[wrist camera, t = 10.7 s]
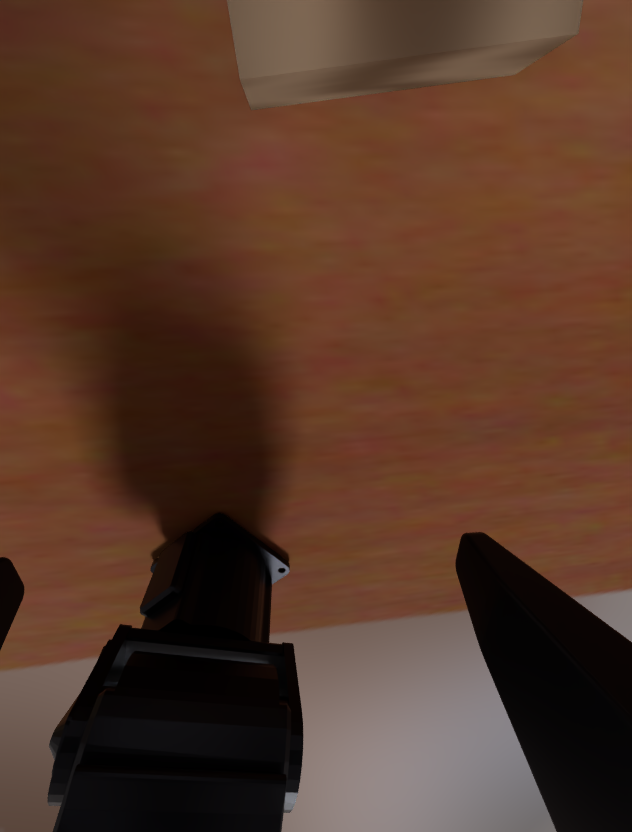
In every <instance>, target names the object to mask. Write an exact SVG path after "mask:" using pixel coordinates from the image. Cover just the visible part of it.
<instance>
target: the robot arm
mask: <svg viewBox="0 0 632 832" xmlns="http://www.w3.org/2000/svg"><path fill="white" fill-rule="evenodd" d="M217 521H221V522H222V523H218V522H217ZM289 571H290V565H289V563H288V562H287V561H286V560H285V559H283V558H282V557H281V556H279V555H278V554H277V553H275V552H274V551H273V550H271V549H270V548H269V547H267V546H266V545H265V544H263V543H262V542H261V541H259V540H258V539H257V538H255V537H254V536H253V535H251V534H250V533H249V532H247V531H246V530H245V529H243V528H242V527H241V526H239V525H238V524H237V523H235V522H234V521H233V520H231V519H230V518H229V517H227V516H226V515H224V514H221V513H218V514H215V515H213V516H212V517H210V518H209V519H208V520H207V521H205V522H204V523H203V524H201V525H200V526H199V527H198V528H196V529H195V530H194V531H189V532H187V533H185V534H184V535H183V536H181V537H180V538H179V539H178V540H176V541H175V542H174V543H172V544H171V545H170V546H169V547H167V548H166V549H165V550H163V551H162V552H161V554H160V557H159V558H157V559H156V560H155V561H154V562H153V563H152V566H151V572H152V573H153V575H152V578H151V580H150V583H149V585H148V588H147V591H146V593H145V596H144V598H143V601H142V604H141V606H140V613H141V614H142V615H144V616H145V620H144V622H143V625H142V628H141V629H139V628H132V626H131V625H122V624H120V625H119V627H118V629H117V631H116V633H115V635H114V637H113V639H112V640H109V641H108V642H107V644H106V646H104V647H103V649H102V652H101V654H100V656H99V658H98V661H97V663H96V665H95V667H94V669H93V671H92V672H91V674H90V676H89V678H88V680H87V681H86V684H85V685H84V687H83V689H82V691H81V693H80V694H79V696H78V697H77V699H76V700H75V701H74V703H73V704H72V706H71V707H70V709H69V710H68V711H67V713H66V714H65V716H64V717H63V718H62V720H61V721H60V723H59V724H58V726H57V727H56V729H55V730H54V733H53V735H52V738H51V740H50V744H49V748H50V750H51V752H52V755H53V758H54V760H55V761H54V765H53V770H52V778H51V782H50V787H49V792H48V804H49V806H61V807H60V810H59V813H58V817H57V820H56V823H55V826H54V829H53V832H281V829H282V821H283V813H290V812H291V811H292V810H293V807H294V805H295V802H296V798H297V794H298V789H299V783H300V776H301V767H302V756H303V718H302V708H301V701H300V693H299V686H298V677H297V670H296V663H295V654H294V646H293V644H292V643H284V642H283V643H282V644H275V643H269V633H270V613H271V593H272V584H273V583H275V582H276V581H278V580H279V579H281V578H282V577H284V576H285V575H287V574H288V573H289ZM456 572H457V575H458V579H459V582H460V585H461V588H462V592H463V595H464V598H465V601H466V605H467V608H468V611H469V614H470V618H471V621H472V624H473V627H474V631H475V634H476V637H477V640H478V643H479V646H480V649H481V652H482V654H483V656H484V659H485V662H486V664H487V667H488V669H489V671H490V674H491V676H492V678H493V681H494V683H495V686H496V688H497V690H498V693H499V695H500V698H501V700H502V702H503V705H504V707H505V709H506V712H507V714H508V717H509V719H510V721H511V724H512V726H513V728H514V731H515V733H516V736H517V738H518V741H519V743H520V745H521V748H522V750H523V752H524V755H525V757H526V759H527V762H528V764H529V767H530V769H531V771H532V774H533V776H534V779H535V781H536V783H537V786H538V788H539V791H540V793H541V795H542V798H543V800H544V802H545V805H546V807H547V810H548V812H549V814H550V817H551V819H552V822H553V824H554V826H555V829H556V831H557V832H632V642H631V641H629V640H628V639H626V638H625V637H624V636H623V635H621V634H620V633H619V632H617V631H616V630H614V629H613V628H612V627H610V626H609V625H608V624H606V623H605V622H604V621H602V620H601V619H600V618H598V617H597V616H595V615H594V614H593V613H592V612H590V611H589V610H588V609H586V608H585V607H583V606H582V605H581V604H579V603H578V602H577V601H575V600H574V599H573V598H571V597H570V596H569V595H567V594H566V593H565V592H563V591H562V590H561V589H559V588H558V587H557V586H555V585H554V584H553V583H551V582H550V581H548V580H547V579H546V578H544V577H543V576H542V575H540V574H539V573H538V572H536V571H535V570H534V569H532V568H531V567H530V566H528V565H527V564H526V563H524V562H523V561H522V560H520V559H519V558H518V557H516V556H515V555H513V554H512V553H511V552H509V551H508V550H507V549H505V548H504V547H503V546H501V545H500V544H499V543H497V542H496V541H495V540H493V539H492V538H491V537H489V536H488V535H486V534H485V533H482V532H475V533H464V534H463V535H462V537H461V540H460V544H459V548H458V553H457V557H456ZM23 596H24V585H23V582H22V580H21V579H20V577H19V575H18V573H17V571H16V569H15V567H14V565H13V563H12V562H11V560H9V559H8V558H5V557H0V650H1V647H2V645H3V643H4V640H5V638H6V636H7V634H8V631H9V629H10V627H11V624H12V622H13V620H14V618H15V615H16V613H17V611H18V608H19V606H20V604H21V601H22V599H23Z"/></svg>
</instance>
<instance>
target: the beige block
mask: <svg viewBox="0 0 632 832" xmlns="http://www.w3.org/2000/svg"><path fill="white" fill-rule="evenodd" d="M227 4H228V10H229V16H230V22H231V28H232V34H233V40H234V46H235V53H236V59H237V65H238V71H239V77H240V81H241V84H242V87H243V89H244V92H245V95H246V97H247V100H248V103H249V105H250V108H251V110H257V109H264V108H272V107H279V106H287V105H294V104H302V103H309V102H317V101H324V100H331V99H339V98H346V97H354V96H361V95H369V94H376V93H383V92H391V91H398V90H406V89H413V88H421V87H428V86H436V85H443V84H450V83H458V82H465V81H473V80H480V79H488V78H495V77H503V76H510V75H515V74H517V73H518V72H520V71H521V70H523V69H524V68H526V67H527V66H529V65H530V64H532V63H534V62H535V61H537V60H538V59H540V58H541V57H543V56H544V55H546V54H548V53H549V52H551V51H552V50H554V49H555V48H557V47H558V46H560V45H561V44H563V43H565V42H566V41H568V40H569V39H571V38H572V37H574V36H575V35H577V34H578V32H579V25H580V19H581V12H582V5H583V0H227Z"/></svg>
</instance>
